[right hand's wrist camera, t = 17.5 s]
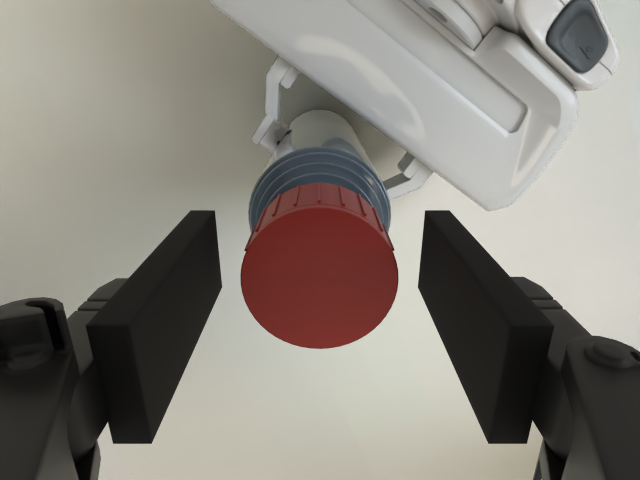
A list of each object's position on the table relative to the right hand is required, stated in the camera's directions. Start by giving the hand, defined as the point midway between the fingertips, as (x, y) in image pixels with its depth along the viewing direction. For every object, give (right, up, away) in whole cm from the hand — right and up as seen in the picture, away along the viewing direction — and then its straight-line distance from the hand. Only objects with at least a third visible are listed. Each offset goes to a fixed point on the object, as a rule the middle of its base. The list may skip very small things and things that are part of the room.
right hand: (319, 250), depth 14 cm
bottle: (0, +7, +18) cm, 19 cm away
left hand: (0, +4, +12) cm, 13 cm away
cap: (0, -1, -2) cm, 2 cm away
